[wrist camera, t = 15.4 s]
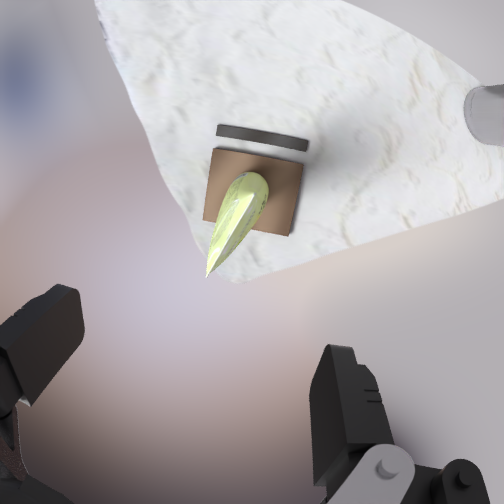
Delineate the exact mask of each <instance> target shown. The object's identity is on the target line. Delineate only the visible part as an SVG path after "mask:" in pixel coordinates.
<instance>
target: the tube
mask: <svg viewBox="0 0 504 504" xmlns="http://www.w3.org/2000/svg"><path fill="white" fill-rule="evenodd" d="M268 193H269V188H268V184H267V182H266V180H265V179H264V178H263V177H262V176H261V175H259V174H258V173H255V172H245V173H242V174H240V175H239V176H238V177H236V179H235V180H234V181H233V183H232V184H231V186H230V187H229V189H228V191H227V193H226V195H225V197H224V200H223V202H222V205H221V208H220V211H219V214H218V217H217V221H216V225H215V228H214V232H213V236H212V240H211V244H210V249H209V254H208V261H207V275H206V277H208V275H209V273H211V272H212V271H213V270H215V269H216V268H217V267H218V266H219V265H220V264H221V263H222V262H224V260H225V259H226V258H227V257H228V256H229V255H230V254H231V253H232V252H233V251H234V249H235V248H236V247H237V246H238V245H239V243H240V242H241V241H242V240H243V238H244V237H245V236H246V235H247V233H248V232H249V231H250V230H251V228H252V227H253V226H254V224H255V223H256V222H257V220H258V219H259V217H260V215H261V214H262V212H263V210H264V208H265V205H266V202H267V198H268Z"/></svg>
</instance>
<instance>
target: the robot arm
mask: <svg viewBox="0 0 504 504" xmlns="http://www.w3.org/2000/svg"><path fill="white" fill-rule="evenodd" d="M464 115H465V120H466V123H467V126H468V128H469V130H470V132H471V133H472V135H473V136H474V137H475V138H476V139H477V140H478V141H479V142H481V143H483V144H488V145H495V146H501V147H504V84H503V85H495V86H487V87H480V88H475V89H473V90H471V91H470V92H469V93H468V95H467V97H466V99H465V103H464ZM84 332H85V327H84V320H83V314H82V308H81V300H80V294H79V292H78V290H77V289H74V288H71V287H67V286H64V285H61V284H56V285H55V286H53V287H52V288H51V289H50V290H48V291H47V292H46V293H45V294H43V295H40V296H38V297H36V298H33V299H31V300H30V301H29V302H27V303H26V304H25V305H24V306H22V308H21V309H19V310H18V311H17V312H15V313H14V316H11V317H9V318H8V319H7V320H6V321H5V322H4V323H3V324H2V325H0V504H74V503H73V502H71V501H70V500H69V499H68V498H66V497H65V496H64V495H63V494H61V493H59V492H57V491H55V490H54V489H52V488H50V487H48V486H47V485H45V484H43V483H41V482H40V481H38V480H36V479H35V478H33V477H31V476H30V475H28V472H27V470H26V468H25V466H24V463H23V461H22V457H21V450H20V441H19V428H18V411H17V407H16V405H15V404H16V403H17V402H18V400H20V401H22V402H24V403H25V404H27V405H29V406H30V407H31V406H32V405H33V403H34V402H35V401H36V399H37V398H38V397H39V395H40V394H41V393H42V391H43V390H44V389H45V388H46V386H47V385H48V384H49V382H50V381H51V380H52V379H53V377H54V376H55V375H56V374H57V372H58V371H59V370H60V368H61V367H62V366H63V365H64V364H65V362H66V361H67V360H68V359H69V357H70V356H71V355H72V354H73V352H74V351H75V350H76V349H77V348H78V346H79V345H80V344H81V342H82V340H83V337H84ZM309 402H310V415H311V416H310V417H311V434H312V453H313V479H314V480H313V481H314V486H326V491H327V496H326V497H325V498H324V499H323V500H322V502H321V503H320V504H490V501H489V497H488V494H487V490H486V486H485V483H484V480H483V477H482V474H481V472H480V470H479V468H478V467H477V466H476V465H475V464H473V463H472V462H470V461H468V460H465V459H456V460H453V461H451V462H450V463H448V464H447V465H446V466H445V467H444V468H443V469H436V468H430V467H425V466H419V465H416V464H414V463H413V460H412V458H411V457H410V455H409V454H408V453H407V452H406V451H404V450H403V449H401V448H400V447H397V446H395V444H394V441H393V437H392V434H391V430H390V426H389V423H388V419H387V416H386V412H385V409H384V405H383V404H382V398H381V395H380V393H379V389H378V385H377V382H376V379H375V377H374V375H373V374H372V373H371V372H370V370H369V369H368V368H367V367H366V366H365V365H360V364H357V361H356V358H355V354H354V350H353V348H352V347H346V346H338V345H330V344H328V345H327V346H326V347H325V349H324V352H323V354H322V357H321V360H320V362H319V365H318V367H317V370H316V372H315V374H314V377H313V379H312V383H311V387H310V394H309Z"/></svg>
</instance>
